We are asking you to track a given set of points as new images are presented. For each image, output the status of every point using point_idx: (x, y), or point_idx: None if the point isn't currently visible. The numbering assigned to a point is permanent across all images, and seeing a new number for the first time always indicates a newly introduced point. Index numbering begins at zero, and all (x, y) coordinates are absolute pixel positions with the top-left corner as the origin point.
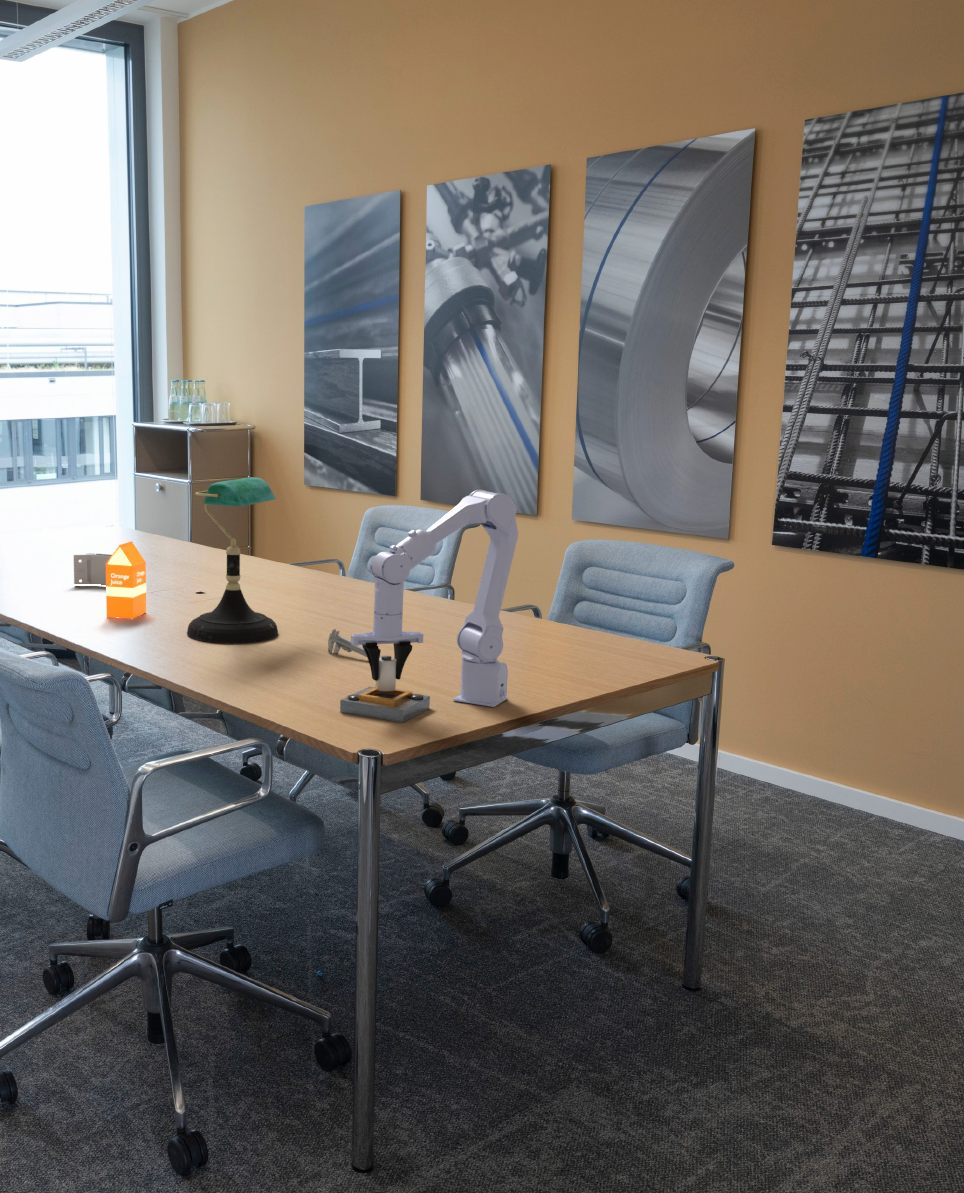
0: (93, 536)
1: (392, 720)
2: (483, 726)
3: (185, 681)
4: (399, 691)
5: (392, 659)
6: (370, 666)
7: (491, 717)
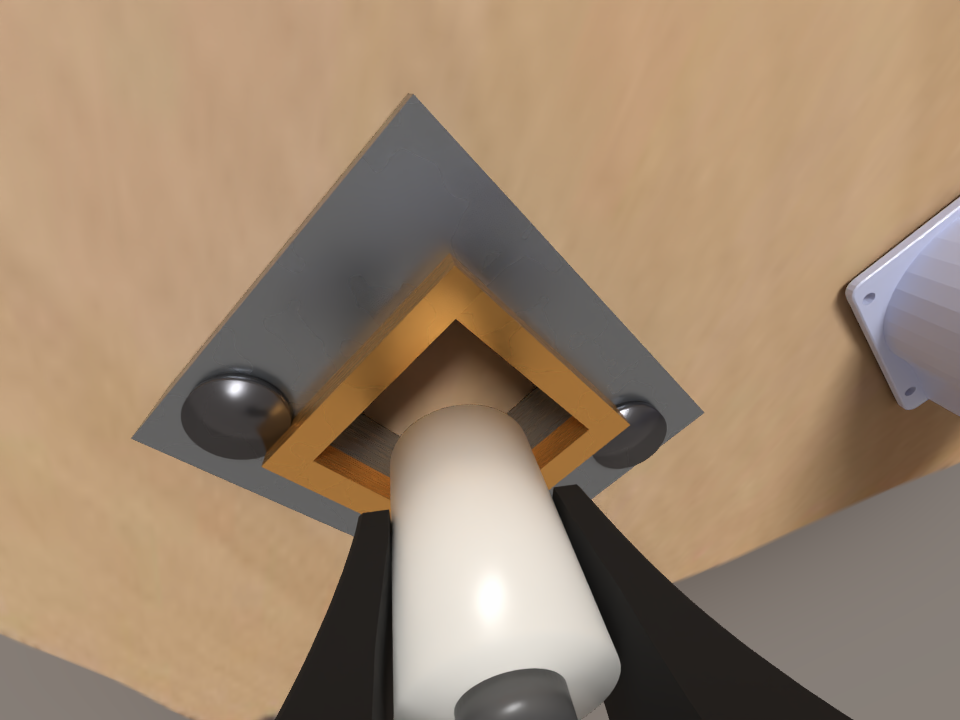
0: None
1: None
2: (705, 568)
3: None
4: (560, 405)
5: (578, 688)
6: (331, 614)
7: (795, 498)
